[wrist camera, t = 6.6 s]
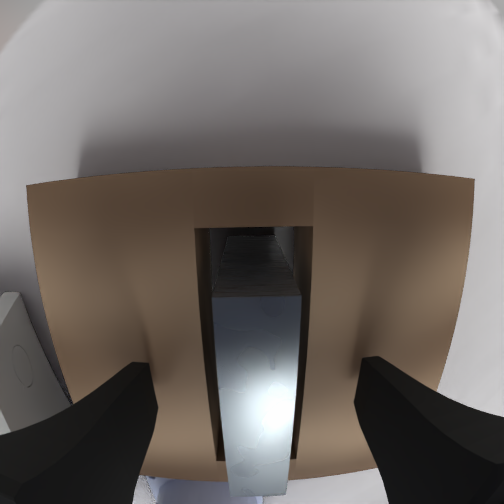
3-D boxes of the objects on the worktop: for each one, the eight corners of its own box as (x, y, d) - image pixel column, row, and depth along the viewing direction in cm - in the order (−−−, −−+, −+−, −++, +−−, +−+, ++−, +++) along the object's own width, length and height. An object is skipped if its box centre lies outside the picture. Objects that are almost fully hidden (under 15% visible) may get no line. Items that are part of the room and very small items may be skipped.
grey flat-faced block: (272, 387, 16) (285, 494, 9) (234, 387, 16) (229, 496, 9) (274, 235, 14) (301, 295, 7) (228, 236, 14) (211, 297, 7)
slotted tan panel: (385, 415, 17) (408, 460, 13) (122, 421, 16) (102, 467, 13) (423, 174, 13) (474, 178, 9) (76, 179, 13) (26, 185, 9)
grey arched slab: (-28, 298, 14) (-110, 367, 5) (26, 280, 16) (-48, 352, 7) (74, 479, 19) (75, 574, 9) (123, 471, 20) (138, 571, 11)
